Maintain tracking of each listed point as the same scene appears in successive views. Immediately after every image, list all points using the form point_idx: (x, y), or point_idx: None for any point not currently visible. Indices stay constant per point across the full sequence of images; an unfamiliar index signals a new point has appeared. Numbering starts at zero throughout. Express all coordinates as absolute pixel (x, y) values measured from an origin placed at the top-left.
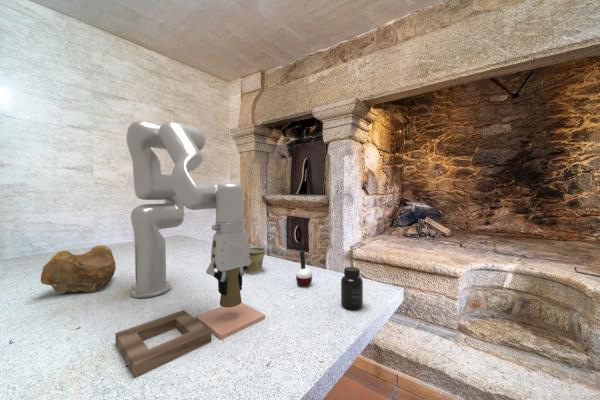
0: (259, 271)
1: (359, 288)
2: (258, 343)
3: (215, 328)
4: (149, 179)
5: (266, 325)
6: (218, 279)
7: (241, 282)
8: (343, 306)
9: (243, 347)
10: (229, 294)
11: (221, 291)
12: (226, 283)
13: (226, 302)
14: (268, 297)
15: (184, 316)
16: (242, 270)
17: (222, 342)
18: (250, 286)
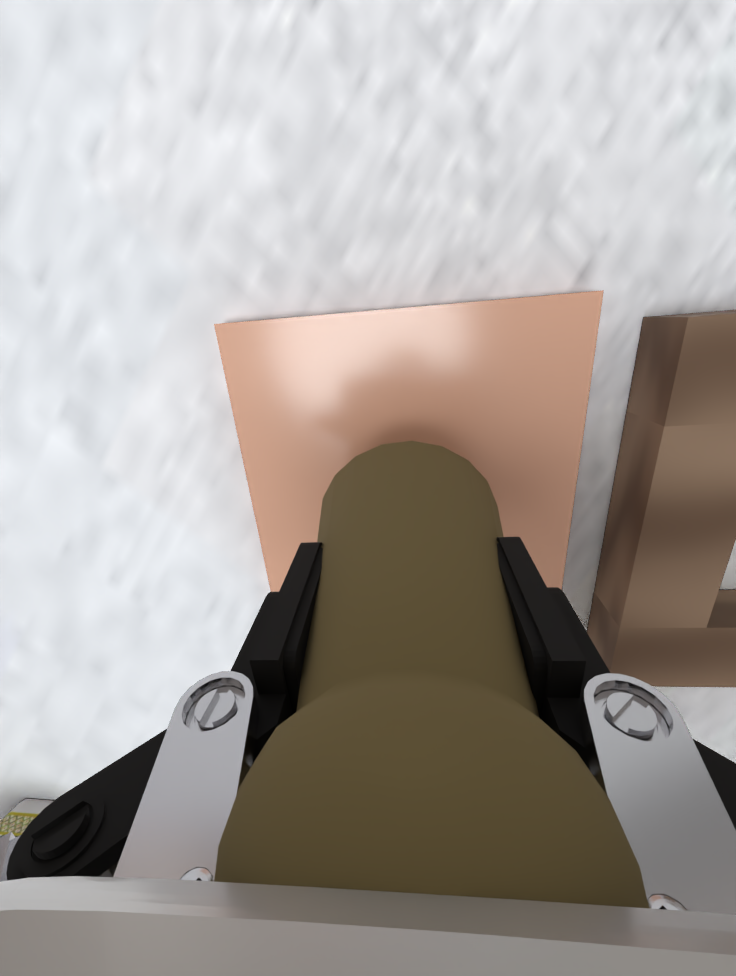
0: (22, 806)
1: None
2: (439, 19)
3: (568, 406)
4: None
5: (262, 228)
6: (699, 752)
7: (281, 595)
8: None
9: (550, 61)
10: (474, 520)
11: (556, 589)
12: (543, 630)
13: (486, 496)
14: (90, 546)
15: (657, 618)
16: (177, 772)
17: (604, 252)
18: (135, 711)
